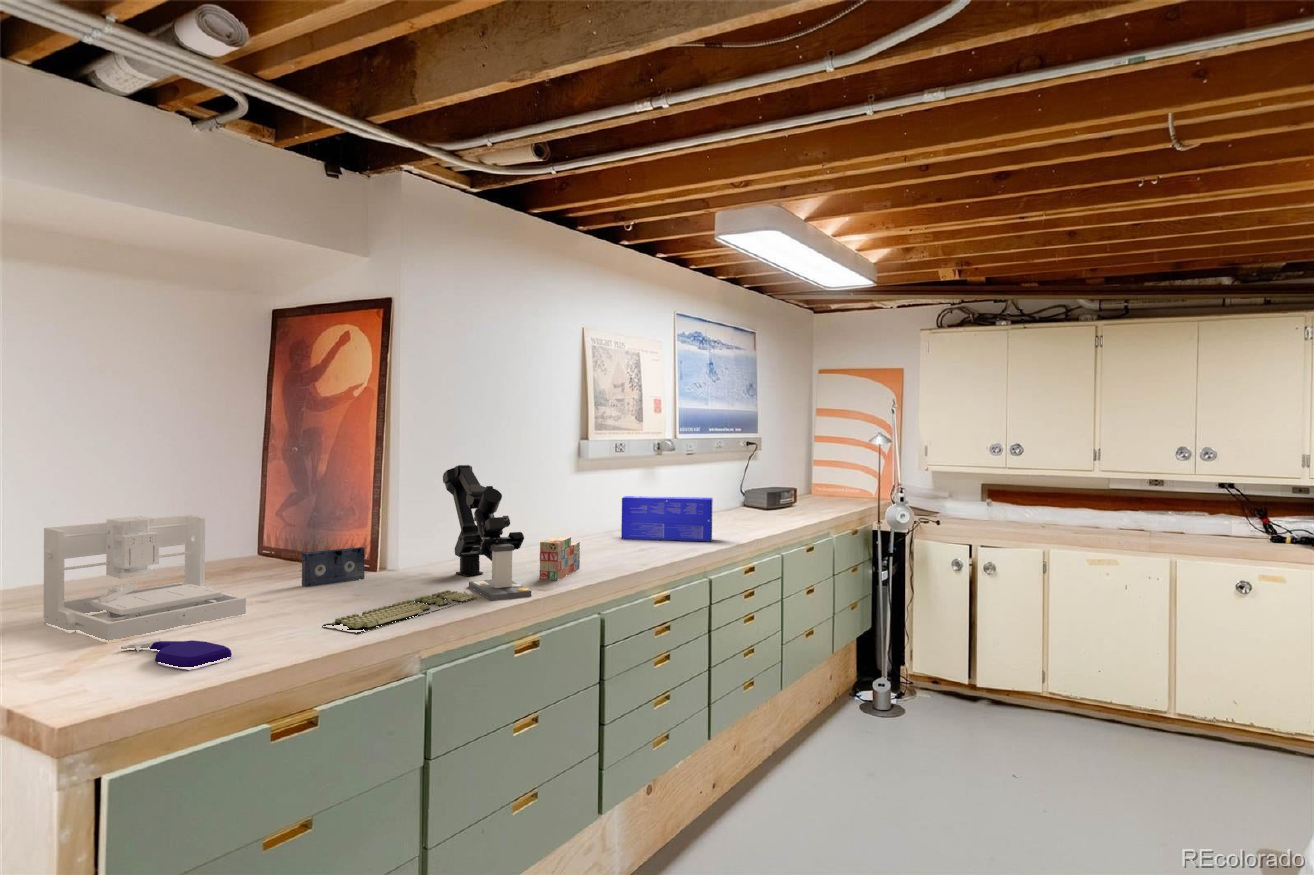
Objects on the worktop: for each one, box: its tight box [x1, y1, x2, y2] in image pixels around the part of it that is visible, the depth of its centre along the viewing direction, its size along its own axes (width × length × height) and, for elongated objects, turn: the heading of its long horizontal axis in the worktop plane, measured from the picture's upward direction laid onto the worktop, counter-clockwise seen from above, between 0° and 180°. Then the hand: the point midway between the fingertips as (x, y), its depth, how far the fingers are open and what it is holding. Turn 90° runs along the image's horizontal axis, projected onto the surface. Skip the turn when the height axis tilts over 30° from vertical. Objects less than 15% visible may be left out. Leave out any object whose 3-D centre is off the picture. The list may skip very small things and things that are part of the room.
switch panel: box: [468, 578, 532, 601], centre depth 228 cm, size 20×12×2 cm, turn 31°
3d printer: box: [43, 514, 247, 641], centre depth 190 cm, size 35×32×25 cm
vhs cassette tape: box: [301, 546, 366, 588], centre depth 236 cm, size 18×3×10 cm, turn 134°
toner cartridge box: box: [620, 495, 714, 542], centre depth 334 cm, size 39×8×18 cm, turn 84°
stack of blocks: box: [539, 535, 581, 581], centre depth 256 cm, size 21×6×12 cm, turn 167°
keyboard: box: [321, 589, 483, 635], centre depth 204 cm, size 45×15×2 cm, turn 153°
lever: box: [491, 544, 515, 588], centre depth 226 cm, size 4×6×12 cm, turn 121°
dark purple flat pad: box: [120, 637, 232, 667], centre depth 162 cm, size 3×11×24 cm
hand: (498, 565), depth 229 cm, fingers closed
